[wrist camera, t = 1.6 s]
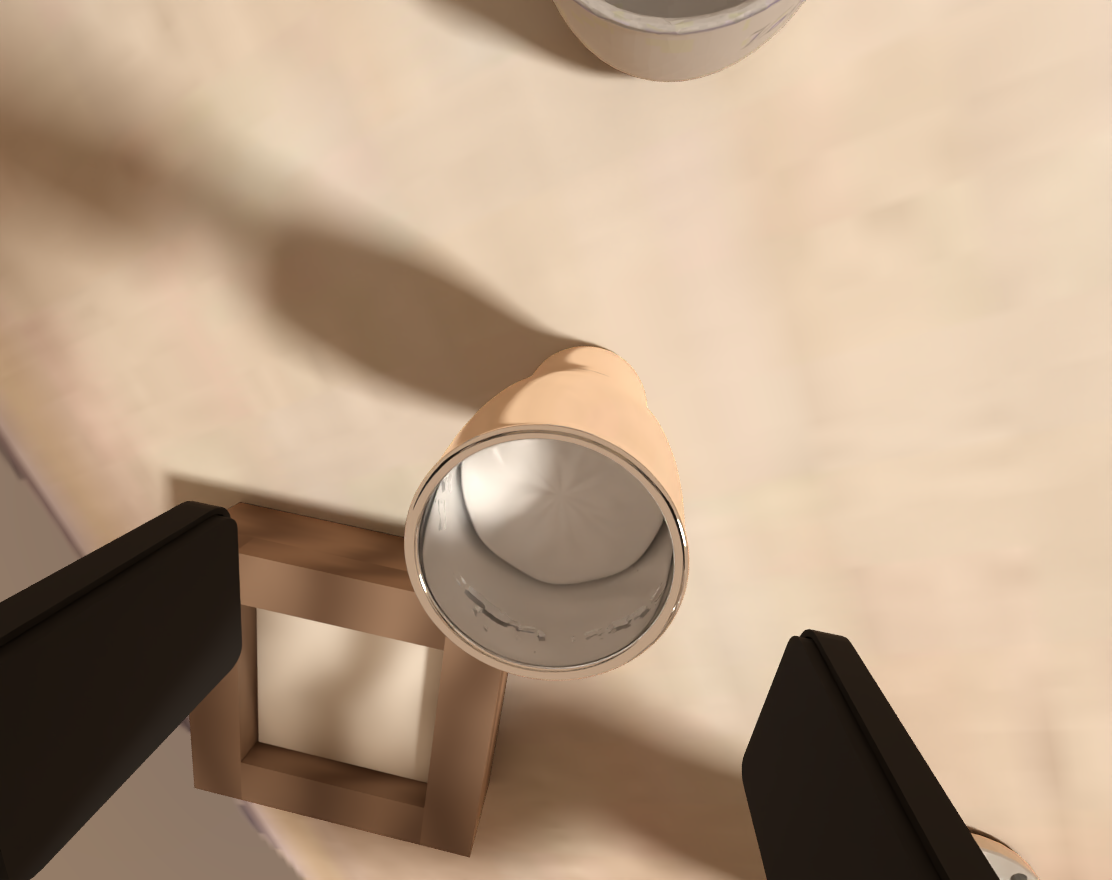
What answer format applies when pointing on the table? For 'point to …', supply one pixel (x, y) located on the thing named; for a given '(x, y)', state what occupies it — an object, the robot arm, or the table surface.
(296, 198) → the table surface
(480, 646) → the beer glass
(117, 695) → the robot arm
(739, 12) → the teacup
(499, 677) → the frame
